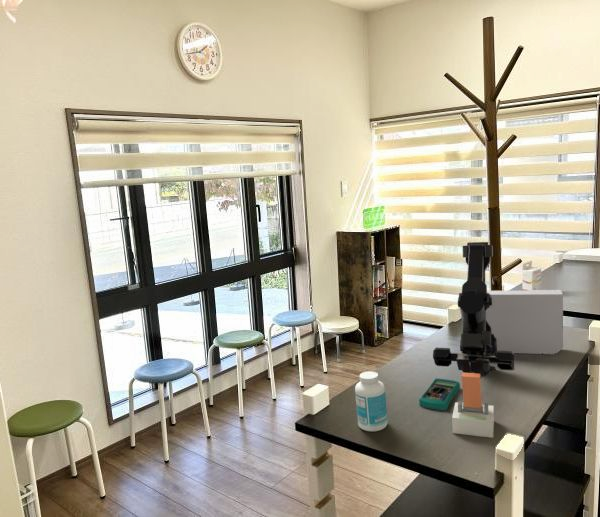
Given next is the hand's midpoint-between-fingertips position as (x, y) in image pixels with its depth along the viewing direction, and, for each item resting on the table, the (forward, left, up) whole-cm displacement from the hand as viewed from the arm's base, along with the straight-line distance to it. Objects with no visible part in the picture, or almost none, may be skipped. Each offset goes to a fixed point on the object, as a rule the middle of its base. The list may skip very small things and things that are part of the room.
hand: (472, 392), depth 120 cm
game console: (-53, -15, -9) cm, 56 cm away
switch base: (0, 0, -9) cm, 9 cm away
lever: (0, 0, -4) cm, 4 cm away
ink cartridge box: (-122, -40, -9) cm, 128 cm away
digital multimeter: (-9, -15, -10) cm, 20 cm away
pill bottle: (+14, -20, -9) cm, 26 cm away
